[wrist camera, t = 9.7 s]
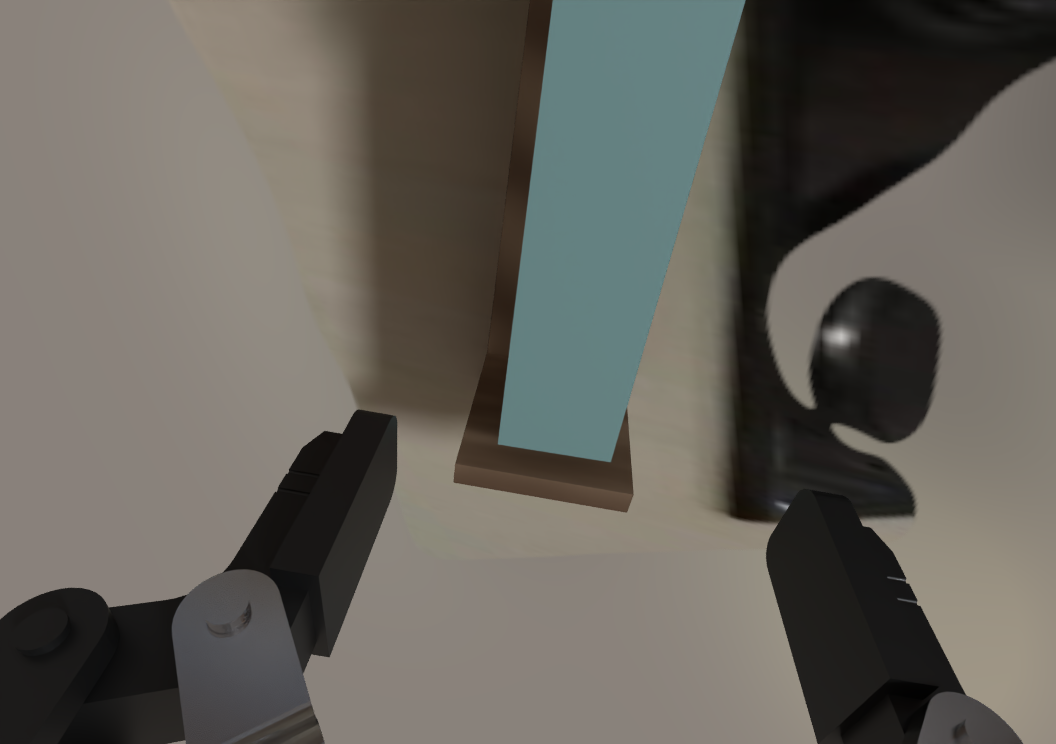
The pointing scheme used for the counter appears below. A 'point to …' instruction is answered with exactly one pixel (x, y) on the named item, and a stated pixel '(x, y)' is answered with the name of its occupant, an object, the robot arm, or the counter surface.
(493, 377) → the rack
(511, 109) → the counter surface
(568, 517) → the counter surface
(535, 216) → the teal rectangular block
